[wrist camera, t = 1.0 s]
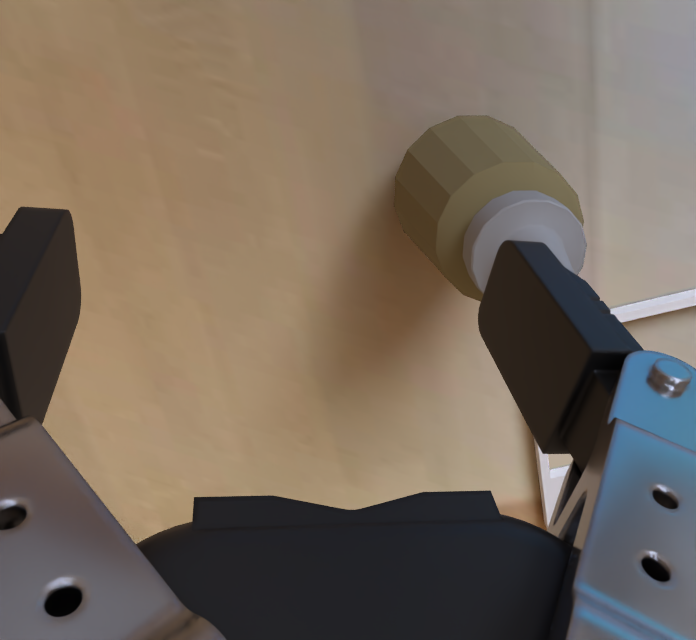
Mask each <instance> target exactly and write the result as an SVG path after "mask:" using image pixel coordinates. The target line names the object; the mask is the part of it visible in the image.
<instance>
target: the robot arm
mask: <svg viewBox="0 0 696 640" xmlns="http://www.w3.org/2000/svg"><path fill="white" fill-rule="evenodd" d="M80 307H81V286H80V277H79V269H78V260H77V252H76V243H75V235H74V227H73V220H72V216H71V213H70V212H69V210H65V209H50V208H35V207H20V208H19V209H18V210H17V212H16V213H15V215H14V217H13V218H12V220H11V221H10V223H9V224H8V226H7V228H6V229H5V231H4V232H3V234H0V640H696V369H695V368H693V367H692V366H690V365H689V364H687V363H685V362H683V361H681V360H679V359H677V358H675V357H673V356H670V355H667V354H664V353H660V352H655V351H645V350H643V348H642V347H641V346H640V345H639V344H638V342H637V341H636V340H635V339H634V338H633V337H632V335H631V334H630V333H629V332H628V331H627V329H626V328H625V327H624V326H623V325H622V323H621V322H620V321H619V320H618V319H617V318H616V316H615V315H614V314H611V313H610V312H611V310H610V309H609V308H608V307H607V306H606V304H605V303H604V302H603V301H600V297H599V296H598V295H597V294H596V293H595V291H594V290H593V289H592V288H591V287H590V285H589V284H588V283H587V282H586V281H584V280H583V279H581V278H580V277H579V276H577V275H576V274H574V273H573V272H571V271H570V270H568V269H567V268H565V267H564V266H563V265H562V263H561V262H560V261H559V260H558V259H557V257H556V256H555V255H554V254H553V252H552V251H551V250H550V249H549V248H548V246H547V245H546V244H545V243H543V242H532V241H517V240H505V241H504V242H503V243H502V244H501V245H500V247H499V249H498V251H497V254H496V257H495V260H494V263H493V266H492V269H491V272H490V276H489V279H488V282H487V285H486V288H485V291H484V294H483V297H482V300H481V303H480V307H479V313H478V325H479V331H480V334H481V336H482V338H483V340H484V342H485V344H486V346H487V348H488V350H489V352H490V354H491V356H492V357H493V359H494V361H495V363H496V365H497V367H498V369H499V371H500V373H501V375H502V377H503V379H504V381H505V382H506V384H507V386H508V388H509V390H510V392H511V394H512V396H513V398H514V400H515V402H516V404H517V405H518V407H519V409H520V411H521V413H522V415H523V417H524V419H525V421H526V423H527V425H528V427H529V428H530V430H531V432H532V434H533V436H534V438H535V440H536V442H537V444H538V446H539V448H540V450H541V452H542V453H543V454H571V456H572V457H573V461H572V463H571V464H570V466H569V468H568V470H567V472H566V475H565V478H564V481H563V484H562V487H561V490H560V493H559V496H558V499H557V502H556V505H555V508H554V511H553V514H552V517H551V520H550V523H549V526H548V529H547V531H545V530H543V529H542V528H540V527H537V526H535V525H532V524H530V523H528V522H525V521H522V520H519V519H516V518H513V517H510V516H506V515H501V514H500V513H499V511H498V508H497V506H496V503H495V501H494V498H493V496H492V493H491V491H455V492H422V493H418V494H414V495H411V496H407V497H403V498H399V499H396V500H392V501H388V502H385V503H381V504H377V505H373V506H370V507H366V508H362V509H357V510H345V509H340V508H334V507H329V506H324V505H319V504H314V503H308V502H303V501H298V500H293V499H288V498H282V497H277V496H232V497H194V507H193V521H192V522H189V523H185V524H182V525H178V526H175V527H172V528H170V529H167V530H164V531H162V532H159V533H157V534H155V535H153V536H151V537H149V538H147V539H145V540H143V541H141V542H139V543H137V544H135V543H134V542H133V540H132V539H131V538H130V537H129V535H128V534H127V533H126V531H125V530H124V529H123V528H122V526H121V525H120V524H119V523H118V521H117V520H116V519H115V517H114V516H113V515H112V514H111V512H110V511H109V510H108V509H107V507H106V506H105V505H104V503H103V502H102V501H101V500H100V498H99V497H98V496H97V495H96V493H95V492H94V491H93V490H92V488H91V487H90V486H89V484H88V483H87V482H86V481H85V479H84V478H83V477H82V476H81V474H80V473H79V472H78V470H77V469H76V468H75V467H74V465H73V464H72V463H71V462H70V460H69V459H68V458H67V456H66V455H65V454H64V453H63V451H62V450H61V449H60V448H59V446H58V445H57V444H56V442H55V441H54V440H53V439H52V437H51V436H50V435H49V434H48V432H47V431H46V430H45V428H44V427H43V426H42V423H43V420H44V417H45V415H46V412H47V409H48V406H49V403H50V400H51V397H52V395H53V392H54V389H55V386H56V383H57V380H58V377H59V374H60V372H61V369H62V366H63V363H64V360H65V357H66V354H67V352H68V349H69V346H70V343H71V340H72V337H73V334H74V331H75V329H76V326H77V323H78V320H79V315H80Z"/></svg>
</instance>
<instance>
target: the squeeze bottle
mask: <svg viewBox="0 0 696 640" xmlns="http://www.w3.org/2000/svg"><path fill="white" fill-rule="evenodd" d="M394 207H395V209H396V212H397V215H398V217H399V220H400V223H401V225H402V228H403V230H404V232H405V233H406V234H407V235H408V236H409V237H410V239H411V240H412V241H413V242H414V243H415V244H416V245H417V246H418V247H419V249H420V250H421V251H422V252H423V253H424V254H425V255H426V256H427V257H428V258H429V260H430V261H431V262H432V263H433V264H434V265H435V266H436V267H437V268H438V270H439V271H440V272H441V273H442V274H443V275H444V276H445V277H446V278H447V279H448V280H449V281H450V282H451V283H452V284H453V285H454V286H455V287H456V288H457V289H458V290H459V291H460V292H461V293H462V294H463V295H465V296H468V297H471V298H473V299H476V300H478V301H481V300H482V297H483V294H484V291H485V288H486V285H487V282H488V279H489V276H490V272H491V269H492V266H493V263H494V260H495V257H496V254H497V251H498V249H499V247H500V245H501V244H502V243H503V242H504V241H505V240H517V241H532V242H543V243H545V244H546V245H547V246H548V248H549V249H550V250H551V251H552V252H553V254H554V255H555V256H556V257H557V259H558V260H559V261H560V262H561V263H562V265H563V266H564V267H565V268H567V269H568V270H570V271H571V272H573V273H574V274H576V275H578V274H579V272H580V270H581V269H582V267H583V263H584V258H585V252H586V247H587V243H586V239H585V235H584V231H583V223H584V220H583V216H582V212H581V208H580V204H579V199H578V195H577V194H576V192H575V191H574V190H573V189H572V188H571V186H570V185H569V184H568V183H567V182H566V180H565V179H564V178H563V177H562V176H561V174H560V173H559V172H558V171H557V170H556V169H555V168H554V167H553V166H552V165H551V164H550V163H549V162H548V161H547V160H546V159H545V158H544V157H543V156H542V155H541V154H540V153H539V152H538V151H537V150H536V149H535V148H534V147H533V146H532V145H531V144H530V143H529V142H528V141H527V140H526V139H525V138H524V137H523V136H522V135H521V134H520V133H519V132H518V131H517V130H516V129H515V128H514V127H512V126H509V125H507V124H505V123H503V122H501V121H498V120H496V119H494V118H492V117H490V116H456V117H454V118H452V119H449V120H447V121H445V122H442V123H440V124H438V125H435V126H433V127H431V128H429V129H428V130H427V131H426V132H425V133H424V134H423V135H422V136H421V137H420V138H419V139H418V140H417V141H416V142H415V143H414V144H413V145H412V146H411V147H410V148H409V149H408V150H407V152H406V154H405V157H404V159H403V161H402V163H401V165H400V168H399V170H398V172H397V174H396V177H395V196H394Z"/></svg>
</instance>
